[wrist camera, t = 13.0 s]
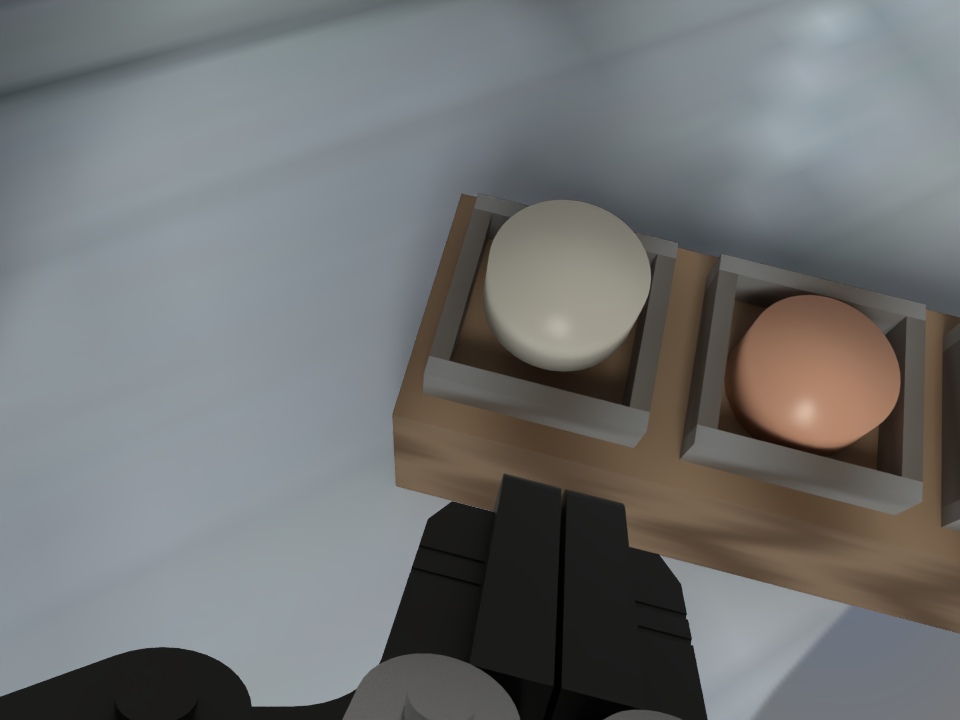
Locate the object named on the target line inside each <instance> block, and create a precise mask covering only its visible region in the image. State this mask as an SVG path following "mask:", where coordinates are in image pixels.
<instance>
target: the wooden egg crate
mask: <svg viewBox="0 0 960 720" xmlns="http://www.w3.org/2000/svg"><path fill="white" fill-rule="evenodd" d="M526 207H529V206H528V205H524V204H520V203H516V202H512V201H508V200H504V199H500V198H496V197H492V196H488V195H484V194H480V193H478V196H477V197H473V196H469V195H465V194H461V197H460V201H459V204H458V207H457V210H456V213H455V217H454V220H453V223H452V226H451V229H450V233H449V236H448V239H447V242H446V245H445V248H444V252H443V255H442V258H441V261H440V264H439V268H438V271H437V274H436V277H435V280H434V284H433V287H432V290H431V293H430V296H429V300H428V303H427V306H426V309H425V312H424V316H423V319H422V322H421V325H420V328H419V332H418V335H417V338H416V341H415V344H414V348H413V351H412V354H411V357H410V360H409V364H408V367H407V370H406V373H405V376H404V380H403V383H402V386H401V389H400V392H399V396H398V399H397V402H396V405H395V408H394V412H393V435H394V456H395V477H396V486H398V487H402V488H406V489H410V490H414V491H418V492H421V493H425V494H429V495H433V496H437V497H440V498H444V499H448V500H452V501H456V502H460V503H463V504H467V505H471V506H475V507H479V508H483V509H486V510H490V511H493V509H494V506H495V502H496V498H497V494H498V490H499V487H500V483H501V480H502V477H503V474H504V473H505V474H509V475H513V476H517V477H521V478H525V479H529V480H533V481H536V482H540V483H544V484H548V485H552V486H556V487H560V488H561V496H562V494H563V492H564V490H565V489H568V490H572V491H576V492H580V493H584V494H588V495H592V496H596V497H600V498H604V499H608V500H612V501H615V502H619V503H623V504H624V505H625V511H626V521H627V530H628V540H629V547H632V548H636V549H640V550H644V551H648V552H652V553H656V554H659V555H662V556H666V557H670V558H674V559H677V560H681V561H685V562H689V563H693V564H696V565H700V566H704V567H708V568H712V569H716V570H719V571H723V572H727V573H731V574H735V575H738V576H742V577H746V578H750V579H754V580H758V581H761V582H765V583H769V584H773V585H777V586H781V587H784V588H788V589H792V590H796V591H800V592H803V593H807V594H811V595H815V596H819V597H823V598H826V599H830V600H834V601H838V602H842V603H845V604H849V605H853V606H857V607H861V608H865V609H868V610H873V611H876V612H880V613H884V614H887V615H891V616H895V617H899V618H903V619H907V620H910V621H914V622H918V623H922V624H926V625H930V626H934V627H937V628H941V629H945V630H949V631H952V632H956V633H960V318H959V317H955V316H951V315H947V314H943V313H939V312H935V311H931V310H927V309H926V305H925V304H921V303H917V302H913V301H909V300H905V299H901V298H897V297H893V296H889V295H885V294H881V293H877V292H873V291H869V290H865V289H861V288H857V287H853V286H849V285H845V284H841V283H837V282H833V281H829V280H825V279H821V278H817V277H813V276H809V275H805V274H801V273H797V272H793V271H789V270H785V269H781V268H777V267H773V266H769V265H765V264H761V263H757V262H753V261H749V260H745V259H741V258H737V257H733V256H729V255H725V254H721V256H720V257H719V258H718V257H714V256H710V255H706V254H702V253H698V252H694V251H690V250H686V249H682V248H678V244H679V243H676V242H672V241H668V240H664V239H660V238H656V237H652V236H648V235H644V234H640V233H636V232H634V233H635V234H636V236H637V237H638V239H639V240H640V242H641V243H642V245H643V247H644V249H645V251H646V254H647V257H648V259H649V264H650V269H651V283H650V290H649V294H648V297H647V299H646V302H645V304H644V306H643V308H642V310H641V312H640V314H639V316H638V317H637V319H636V321H635V323H634V325H633V327H632V329H631V331H630V333H629V335H628V337H627V338H626V340H625V341H624V343H623V345H622V346H621V347H620V348H619V349H618V350H617V351H616V352H615V353H614V354H613V355H612V356H611V357H609V358H608V359H606V360H605V361H603V362H602V363H599V364H597V365H595V366H593V367H590V368H586V369H583V370H577V371H566V372H562V371H551V370H546V369H542V368H539V367H535V366H532V365H530V364H528V363H526V362H524V361H522V360H520V359H519V358H517V357H515V356H514V355H513V354H512V353H510V352H509V351H508V350H507V349H506V348H505V347H504V346H503V345H502V344H501V343H500V342H499V341H498V340H497V338H496V337H495V336H494V334H493V332H492V331H491V329H490V327H489V325H488V322H487V320H486V317H485V313H484V308H483V290H484V284H485V277H486V271H487V265H488V259H489V253H490V248H491V245H492V243H493V240H494V238H495V236H496V234H497V233H498V231H499V230H500V228H501V227H502V226H503V224H504V223H505V222H506V221H507V220H508V219H509V218H511V217H512V216H513V215H515V214H516V213H517V212H519V211H521V210H523V209H524V208H526ZM799 295H816V296H823V297H828V298H832V299H835V300H838V301H841V302H843V303H845V304H848V305H850V306H851V307H853V308H855V309H857V310H858V311H860V312H861V313H863V314H864V315H865V316H867V317H868V318H869V319H870V320H871V321H872V322H873V323H874V324H875V325H876V326H877V327H878V328H879V329H880V330H881V331H882V333H883V334H884V335H885V336H886V338H887V339H888V341H889V343H890V344H891V346H892V348H893V350H894V353H895V355H896V358H897V361H898V364H899V370H900V381H901V383H900V392H899V396H898V399H897V402H896V404H895V406H894V408H893V410H892V411H891V413H890V414H889V416H888V417H887V418H886V419H885V420H884V421H883V422H882V423H880V424H879V425H878V426H876V427H875V428H874V429H872V430H871V431H869V432H868V433H867V434H865V435H864V436H862V437H861V438H859V439H858V440H857V441H855V442H854V443H852V444H851V445H849V446H848V447H847V448H845V449H844V450H842V451H840V452H838V453H836V454H834V455H831V456H828V457H823V456H819V455H815V454H811V453H807V452H803V451H799V450H795V449H791V448H787V447H783V446H780V445H776V444H772V443H768V442H764V441H760V440H756V439H755V438H754V437H752V436H751V435H750V434H749V433H748V432H747V431H746V430H745V428H744V427H743V426H742V425H741V424H740V422H739V421H738V419H737V418H736V416H735V415H734V413H733V411H732V409H731V407H730V405H729V402H728V399H727V395H726V391H725V383H724V377H725V369H726V363H727V361H728V358H729V355H730V354H731V352H732V350H733V348H734V347H735V346H736V345H737V343H738V342H739V341H740V340H741V338H742V337H743V336H744V335H745V333H746V332H747V331H748V330H749V328H750V327H751V326H752V325H753V323H754V322H755V321H756V320H757V318H758V317H759V316H760V315H761V313H763V312H764V311H765V310H766V309H767V308H768V307H770V306H771V305H773V304H774V303H776V302H778V301H780V300H783V299H786V298H789V297H793V296H799Z"/></svg>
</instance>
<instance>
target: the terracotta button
mask: <svg viewBox="0 0 960 720" xmlns="http://www.w3.org/2000/svg"><path fill="white" fill-rule="evenodd" d="M724 383H725V391H726V395H727V399H728V402H729V405H730V407H731V409H732V411H733V413H734V415H735V416H736V418H737V419H738V421H739V422H740V424H741V425H742V426H743V427H744V428H745V430H746V431H747V432H748V433H749V434H750V435H751V436H752V437H754V438H755V439H756V440H760V441H764V442H768V443H772V444H776V445H780V446H783V447H787V448H791V449H795V450H799V451H803V452H807V453H811V454H815V455H819V456H823V457H828V456H831V455H834V454H836V453H838V452H840V451H842V450H844V449H845V448H847V447H848V446H849V445H851V444H852V443H854V442H855V441H857V440H858V439H859V438H861V437H862V436H864V435H865V434H867V433H868V432H869V431H871V430H872V429H874V428H875V427H876V426H878V425H879V424H880V423H882V422H883V421H884V420H885V419H886V418H887V417H888V416H889V414H890V413H891V411H892V410H893V408H894V406H895V404H896V402H897V399H898V396H899V392H900V383H901V381H900V370H899V364H898V361H897V358H896V355H895V353H894V350H893V348H892V346H891V344H890V343H889V341H888V339H887V338H886V336H885V335H884V334H883V333H882V331H881V330H880V329H879V328H878V327H877V326H876V325H875V324H874V323H873V322H872V321H871V320H870V319H869V318H868V317H867V316H865V315H864V314H863V313H861V312H860V311H858V310H857V309H855V308H853V307H851V306H850V305H848V304H845V303H843V302H841V301H838V300H835V299H832V298H828V297H823V296H816V295H799V296H793V297H789V298H786V299H783V300H780V301H778V302H776V303H774V304H773V305H771V306H770V307H768V308H767V309H766V310H765V311H764V312H763V313H761V315H760V316H759V317H758V318H757V320H756V321H755V322H754V323H753V325H752V326H751V327H750V328H749V330H748V331H747V332H746V333H745V335H744V336H743V337H742V338H741V340H740V341H739V342H738V343H737V345H736V346H735V347H734V348H733V350H732V352H731V354H730V355H729V358H728V361H727V363H726V369H725V377H724Z"/></svg>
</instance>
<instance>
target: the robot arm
mask: <svg viewBox="0 0 960 720" xmlns="http://www.w3.org/2000/svg"><path fill="white" fill-rule="evenodd" d="M686 615H687V612H686V607H685V602H684V597H683V592H682V587H681V583H680V582H679V581H678V579H677V578H676V577H675V575H674V574H673V573H672V571H671V570H670V569H669V567H668V566H667V565H666V563H665V562H664V561H663V559H662V558H661V557H660V555H659V554H656V553H652V552H648V551H644V550H640V549H636V548H632V547H629V540H628V530H627V521H626V511H625V505H624V504H623V503H619V502H615V501H612V500H608V499H604V498H600V497H596V496H592V495H588V494H584V493H580V492H576V491H572V490H568V489H565V490H564V492H563V494H562V496H561V488H560V487H556V486H552V485H548V484H544V483H540V482H536V481H533V480H529V479H525V478H521V477H517V476H513V475H509V474H505V473H504V474H503V477H502V480H501V483H500V487H499V490H498V494H497V498H496V502H495V506H494V509H493V512H492V511H488V510H484V509H480V508H476V507H472V506H468V505H464V504H460V503H457V502H453V501H452V502H451V503H449V504H448V505H447V506H445V507H444V508H442V509H441V510H440V511H438V512H437V513H436V514H434V515H433V516H431V517H430V518H429V519H428V521H427V524H426V527H425V530H424V533H423V536H422V539H421V542H420V545H419V548H418V551H417V554H416V557H415V560H414V563H413V566H412V569H411V573H410V575H409V578H408V581H407V584H406V587H405V590H404V593H403V596H402V599H401V602H400V605H399V608H398V611H397V614H396V617H395V620H394V623H393V626H392V629H391V632H390V635H389V638H388V641H387V644H386V647H385V650H384V653H383V656H382V659H381V661H380V663H379V665H378V666H376V667H375V668H373V669H372V670H371V671H370V672H369V673H368V674H367V675H366V676H365V677H364V678H363V680H362V681H361V683H360V684H359V686H358V688H357V689H356V690H354V691H353V692H351V693H349V694H347V695H345V696H342V697H340V698H338V699H335V700H332V701H328V702H325V703H320V704H315V705H309V706H294V707H252V706H251V699H250V696H249V693H248V691H247V689H246V686H245V685H244V684H243V682H242V681H241V679H240V678H239V676H237V675H236V674H235V673H234V672H233V671H232V670H231V669H230V668H229V667H227V666H226V665H224V664H223V663H221V662H220V661H218V660H216V659H214V658H212V657H210V656H208V655H205V654H202V653H198V652H195V651H191V650H186V649H180V648H165V647H159V648H145V649H139V650H134V651H129V652H126V653H122V654H119V655H115V656H112V657H110V658H107V659H104V660H101V661H99V662H96V663H93V664H90V665H87V666H85V667H82V668H79V669H76V670H74V671H71V672H68V673H65V674H62V675H60V676H57V677H54V678H51V679H49V680H46V681H43V682H40V683H37V684H35V685H32V686H29V687H26V688H24V689H21V690H18V691H15V692H12V693H10V694H7V695H4V696H1V697H0V720H708V719H707V714H706V709H705V704H704V699H703V694H702V689H701V684H700V678H699V673H698V668H697V663H696V658H695V653H694V648H693V645H691V640H692V638H691V633H690V628H689V623H688V620H687V619H686Z"/></svg>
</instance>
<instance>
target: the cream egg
mask: <svg viewBox="0 0 960 720" xmlns="http://www.w3.org/2000/svg"><path fill="white" fill-rule="evenodd" d="M650 283H651V269H650V264H649V259H648V257H647V254H646V251H645V249H644V247H643V245H642V243H641V242H640V240H639V239H638V237H637V236H636V234H635V233H634V232H633V231H632V230H631V229H630V227H628V226H627V225H626V224H625V223H624V222H623V221H622V220H620V219H619V218H618V217H616V216H615V215H613V214H612V213H610V212H608V211H606V210H604V209H602V208H600V207H597V206H595V205H592V204H589V203H585V202H580V201H574V200H551V201H544V202H541V203H537V204H534V205H531V206H529V207H526V208H524V209H523V210H521V211H519V212H517V213H516V214H515V215H513V216H512V217H511V218H509V219H508V220H507V221H506V222H505V223H504V224H503V226H502V227H501V228H500V230H499V231H498V233H497V234H496V236H495V238H494V240H493V243H492V245H491V248H490V253H489V259H488V265H487V271H486V277H485V284H484V290H483V308H484V313H485V317H486V320H487V322H488V325H489V327H490V329H491V331H492V332H493V334H494V336H495V337H496V338H497V340H498V341H499V342H500V343H501V344H502V345H503V346H504V347H505V348H506V349H507V350H508V351H509V352H510V353H512V354H513V355H514V356H515V357H517V358H519V359H520V360H522V361H524V362H526V363H528V364H530V365H532V366H535V367H539V368H542V369H546V370H551V371H562V372H566V371H577V370H583V369H586V368H590V367H593V366H595V365H597V364H599V363H602V362H603V361H605V360H606V359H608V358H609V357H611V356H612V355H613V354H614V353H615V352H616V351H617V350H618V349H619V348H620V347H621V346H622V345H623V343H624V341H625V340H626V338H627V337H628V335H629V333H630V331H631V329H632V327H633V325H634V323H635V321H636V319H637V317H638V316H639V314H640V312H641V310H642V308H643V306H644V304H645V302H646V299H647V297H648V294H649V290H650Z"/></svg>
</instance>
